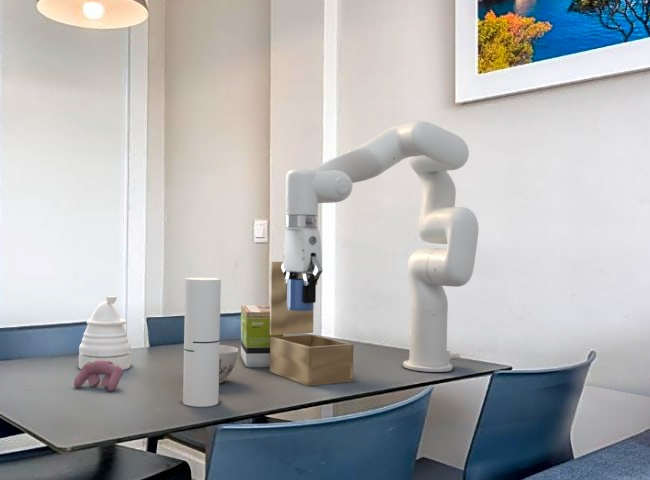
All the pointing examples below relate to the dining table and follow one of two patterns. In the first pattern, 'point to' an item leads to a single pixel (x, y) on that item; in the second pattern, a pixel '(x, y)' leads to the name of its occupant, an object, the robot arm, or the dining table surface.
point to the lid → (285, 307)
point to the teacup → (226, 361)
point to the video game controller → (96, 368)
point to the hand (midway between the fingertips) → (300, 300)
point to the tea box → (255, 335)
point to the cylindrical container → (201, 341)
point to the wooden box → (311, 359)
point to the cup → (297, 296)
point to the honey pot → (105, 337)
